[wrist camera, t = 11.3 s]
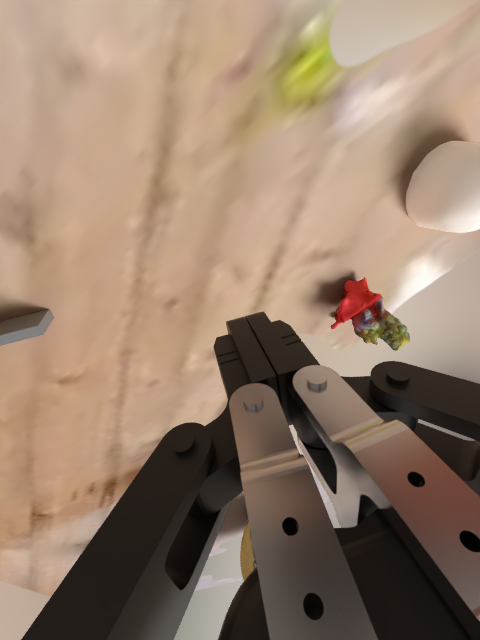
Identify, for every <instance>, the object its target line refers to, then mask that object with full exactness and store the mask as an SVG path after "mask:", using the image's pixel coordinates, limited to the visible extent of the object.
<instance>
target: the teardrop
mask: <svg viewBox="0 0 480 640" xmlns="http://www.w3.org/2000/svg"><path fill="white" fill-rule="evenodd" d="M406 210H407V213H408V217H409V218H410V219H411V220H412V221H413V222H414V223H415V224H416V225H417V226H420V227H425V228H430V229H436V230H441V231H446V232H456V233H464V232H471V231H474V230H477V229H480V142H467V141H449V142H446V143H444V144H441V145H439V146H437V147H436V148H435V149H433V150H432V151H431V152H429V153H428V154H427V155H426V156H425V158H424V159H423V160H422V162H421V163H420V164H419V166H418V167H417V168H416V170H415V171H414V172H413V175H412V178H411V181H410V184H409V186H408V189H407V192H406Z"/></svg>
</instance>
